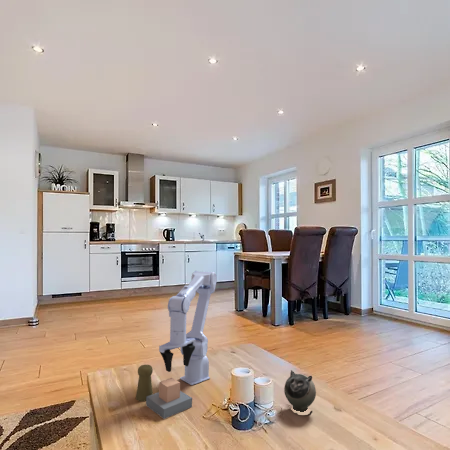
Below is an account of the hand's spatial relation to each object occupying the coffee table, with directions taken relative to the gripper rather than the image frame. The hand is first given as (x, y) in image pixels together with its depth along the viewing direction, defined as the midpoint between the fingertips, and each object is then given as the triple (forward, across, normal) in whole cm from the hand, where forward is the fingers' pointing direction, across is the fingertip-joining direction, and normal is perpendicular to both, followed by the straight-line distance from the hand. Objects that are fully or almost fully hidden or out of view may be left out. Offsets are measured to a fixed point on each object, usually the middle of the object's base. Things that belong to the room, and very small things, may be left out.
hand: (177, 368), depth 116 cm
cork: (+10, +9, -7) cm, 15 cm away
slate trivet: (+10, +6, +4) cm, 12 cm away
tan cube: (+7, +6, +4) cm, 10 cm away
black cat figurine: (+10, -25, +35) cm, 44 cm away
